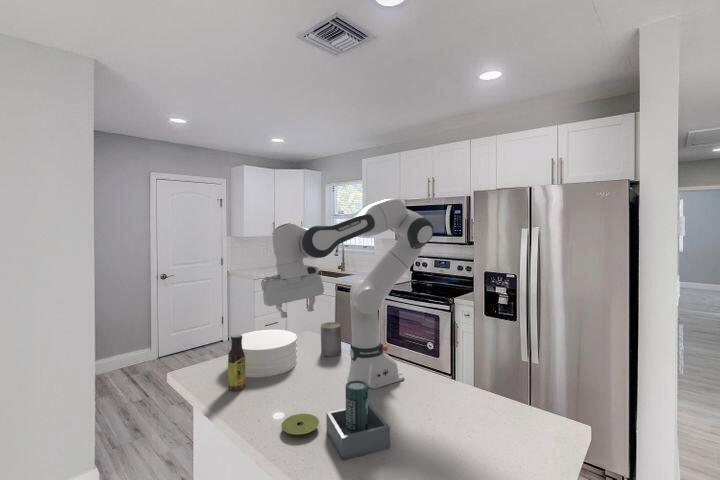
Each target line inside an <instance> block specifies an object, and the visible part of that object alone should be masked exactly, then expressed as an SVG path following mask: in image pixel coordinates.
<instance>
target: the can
mask: <svg viewBox="0 0 720 480" xmlns="http://www.w3.org/2000/svg"><path fill="white" fill-rule="evenodd" d="M368 403H369V387H368V384H367V383H366V382H364V381H360V380H354V381H350V382H349V381H348V382H346V383H345V408H346V435H348V434H352V433H356V432H360V431H365V430H368Z"/></svg>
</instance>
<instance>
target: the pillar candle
mask: <svg viewBox="0 0 720 480" xmlns="http://www.w3.org/2000/svg"><path fill="white" fill-rule="evenodd" d="M341 326H342V325H341V323H339V322H333V321H331V322H330V321H329V322H324V323H322V324H321V325H320V349H321V351H320V352H321V355H322V356H325V357H336V356H339V355H340V354H341V353H342V332H341V331H342V329H341V328H342V327H341Z"/></svg>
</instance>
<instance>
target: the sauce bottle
mask: <svg viewBox="0 0 720 480" xmlns="http://www.w3.org/2000/svg"><path fill="white" fill-rule="evenodd" d="M230 340H231V345H230V346H231V349H230V350H229V352H228V358H227V360H228V361H227V385H228V390H230V391H240V390H243V388H245V385H246V377H245V354H244V351H243V348H242V334H233V335H231V336H230Z"/></svg>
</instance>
